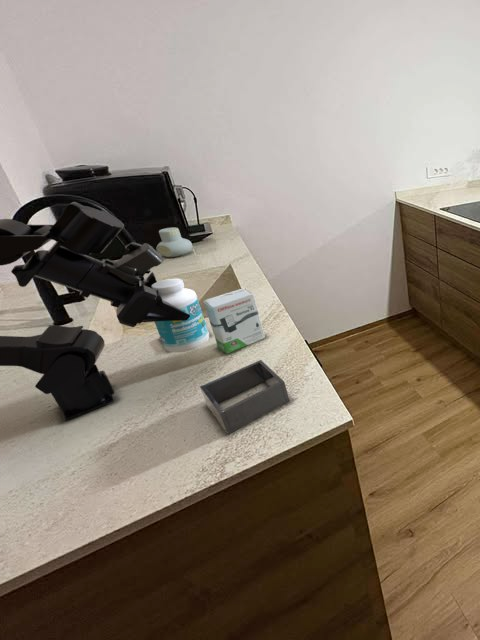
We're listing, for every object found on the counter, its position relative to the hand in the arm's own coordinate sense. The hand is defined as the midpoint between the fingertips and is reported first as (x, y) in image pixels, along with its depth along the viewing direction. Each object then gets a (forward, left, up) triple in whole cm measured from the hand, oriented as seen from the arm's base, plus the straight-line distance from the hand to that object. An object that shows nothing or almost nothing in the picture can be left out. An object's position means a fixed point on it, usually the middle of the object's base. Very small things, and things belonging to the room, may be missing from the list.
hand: (186, 310), depth 74 cm
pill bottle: (-1, 0, -7) cm, 7 cm away
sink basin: (+1, -20, -13) cm, 24 cm away
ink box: (+8, +3, -13) cm, 16 cm away
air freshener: (+16, +90, -13) cm, 92 cm away
